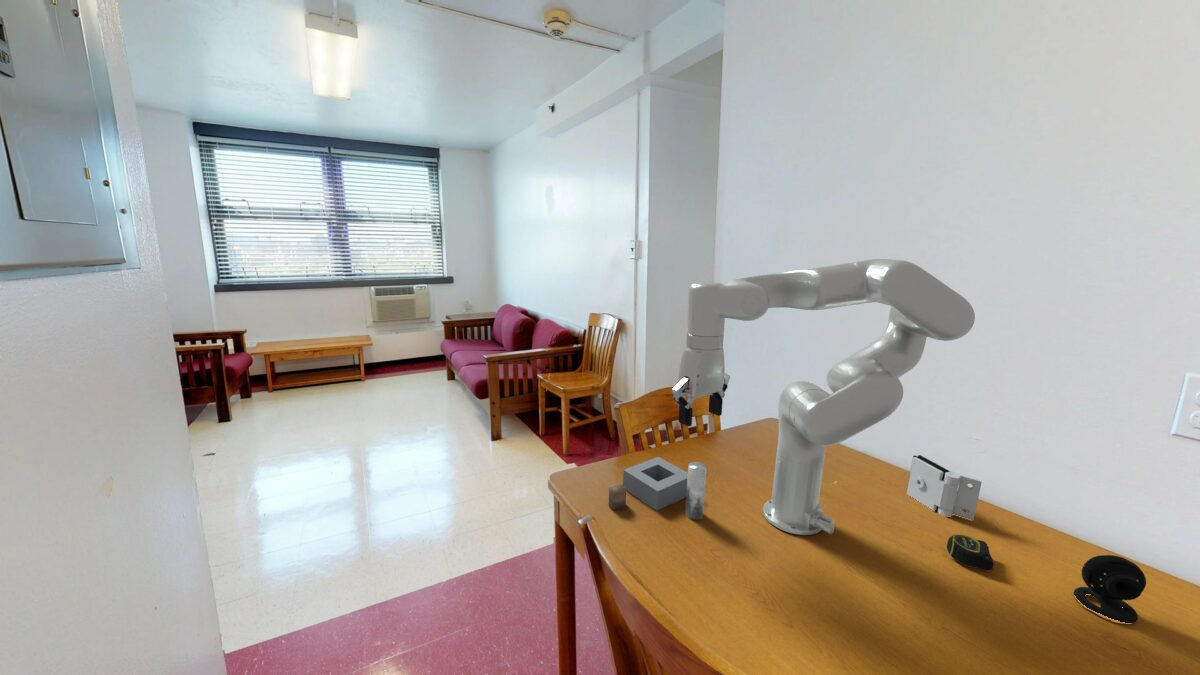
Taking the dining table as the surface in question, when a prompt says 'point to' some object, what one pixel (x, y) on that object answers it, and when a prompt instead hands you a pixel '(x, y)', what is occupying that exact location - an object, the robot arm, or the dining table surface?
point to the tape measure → (970, 552)
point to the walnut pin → (617, 497)
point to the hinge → (942, 488)
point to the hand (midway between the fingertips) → (700, 418)
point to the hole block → (656, 482)
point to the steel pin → (695, 490)
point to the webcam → (1112, 586)
